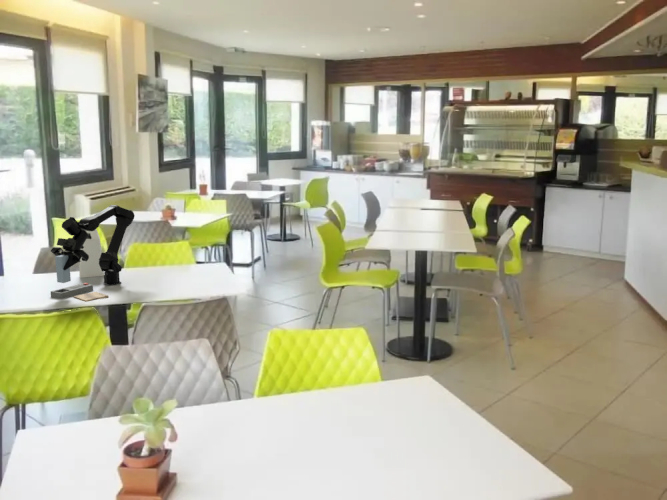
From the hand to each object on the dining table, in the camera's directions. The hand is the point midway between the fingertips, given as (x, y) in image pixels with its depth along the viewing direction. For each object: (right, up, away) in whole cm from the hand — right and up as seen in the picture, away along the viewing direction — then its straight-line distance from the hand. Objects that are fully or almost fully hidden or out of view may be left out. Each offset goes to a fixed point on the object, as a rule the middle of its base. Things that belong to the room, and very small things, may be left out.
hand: (60, 269), depth 289 cm
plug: (+1, -6, +2) cm, 6 cm away
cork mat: (+13, -13, +2) cm, 19 cm away
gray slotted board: (+2, -12, +9) cm, 15 cm away
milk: (-5, -4, +50) cm, 51 cm away
